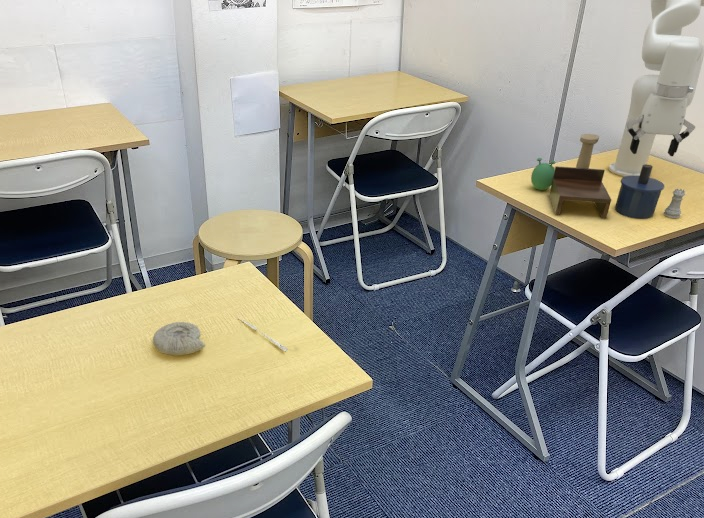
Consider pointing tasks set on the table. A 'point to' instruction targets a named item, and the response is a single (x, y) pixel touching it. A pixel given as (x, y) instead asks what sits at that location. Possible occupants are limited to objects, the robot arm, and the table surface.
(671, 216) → the rook chess piece
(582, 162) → the handle
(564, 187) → the shelf
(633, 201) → the pot
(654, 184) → the lid
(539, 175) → the alien toy
